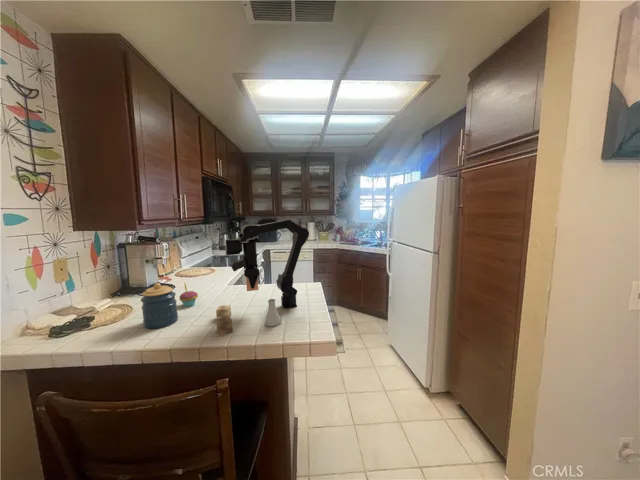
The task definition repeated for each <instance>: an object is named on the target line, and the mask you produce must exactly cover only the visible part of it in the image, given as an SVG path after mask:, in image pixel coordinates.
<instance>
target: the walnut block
mask: <svg viewBox="0 0 640 480" xmlns="http://www.w3.org/2000/svg"><path fill="white" fill-rule="evenodd" d="M215 323H216V331H217V334H218V335H219V337H220V336H221V337H222V336H225V335H228V334H232V333H234V328H233V319H232V318H231V317H229V316H227V317H223V318H219V319H217V318H216V319H215Z"/></svg>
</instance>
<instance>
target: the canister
mask: <svg viewBox="0 0 640 480" xmlns="http://www.w3.org/2000/svg"><path fill="white" fill-rule="evenodd" d="M173 290H174V288H173V287H170V286H169V285H161V283H160V282H157V283H154V284H153V286H151V287H149V288H147V289H145V291H143V292H142V297H141V299H140V302H142V303H141V304H142V305H141V311H142V319H143V320H142V321H143V326H144V328H146V329H150V330H151V329H152V330H154V329H160V328H166V327H169V326H170V325H173V324H175V323H176V322H177V321H178V319H179V313H178V309H177V308H178V305H177V299H176V298H175V296H176V295H177V293H176V292H175V291H173Z"/></svg>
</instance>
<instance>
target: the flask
mask: <svg viewBox="0 0 640 480" xmlns="http://www.w3.org/2000/svg"><path fill="white" fill-rule="evenodd" d="M267 303H268V309H267V314H266V317H265V320H264V326H266V327H277V326H279V325H280V324H282V318H281V317H280V315H279V312H278V309H277V306H276V299H275V298H269V299H268V300H267Z"/></svg>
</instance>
